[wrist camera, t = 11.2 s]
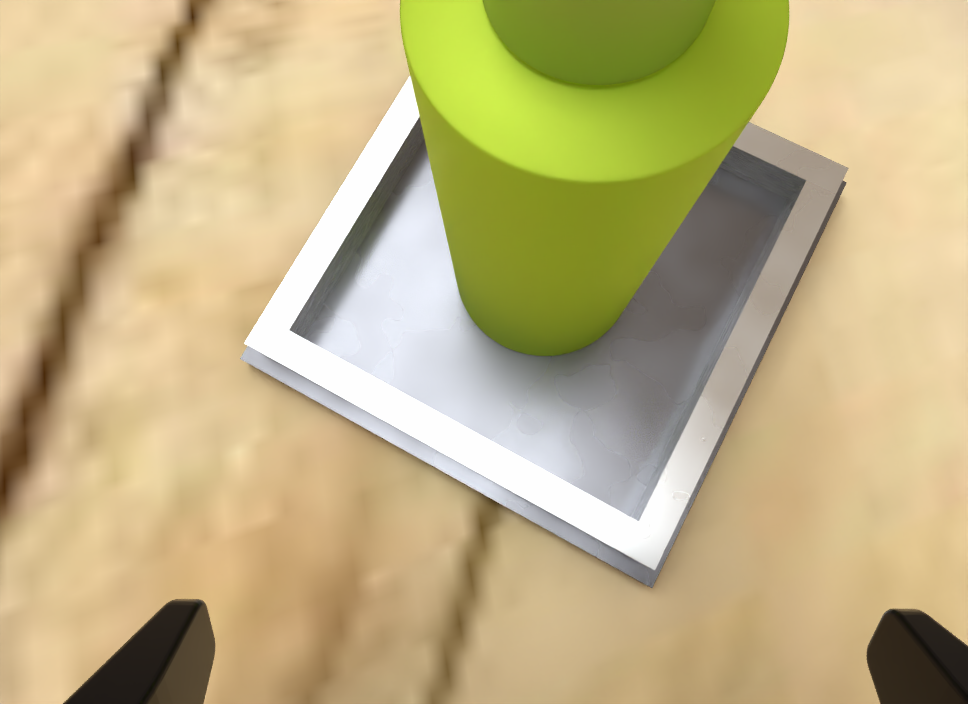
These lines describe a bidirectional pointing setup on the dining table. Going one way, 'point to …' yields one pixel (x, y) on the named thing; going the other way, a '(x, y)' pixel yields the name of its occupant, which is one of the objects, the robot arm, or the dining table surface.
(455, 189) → the soap dispenser
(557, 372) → the holder
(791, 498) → the dining table surface
